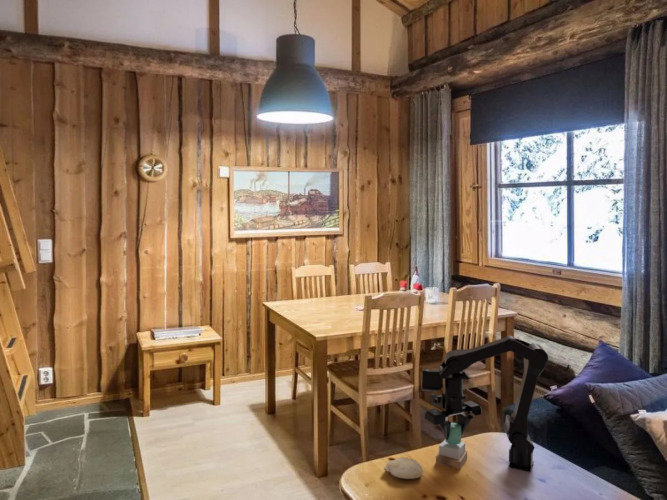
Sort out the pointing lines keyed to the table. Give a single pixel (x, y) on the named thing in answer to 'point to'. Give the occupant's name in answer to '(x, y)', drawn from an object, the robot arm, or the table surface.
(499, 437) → the table surface
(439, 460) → the walnut base
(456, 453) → the grey block
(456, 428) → the teal cylinder
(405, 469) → the seashell
